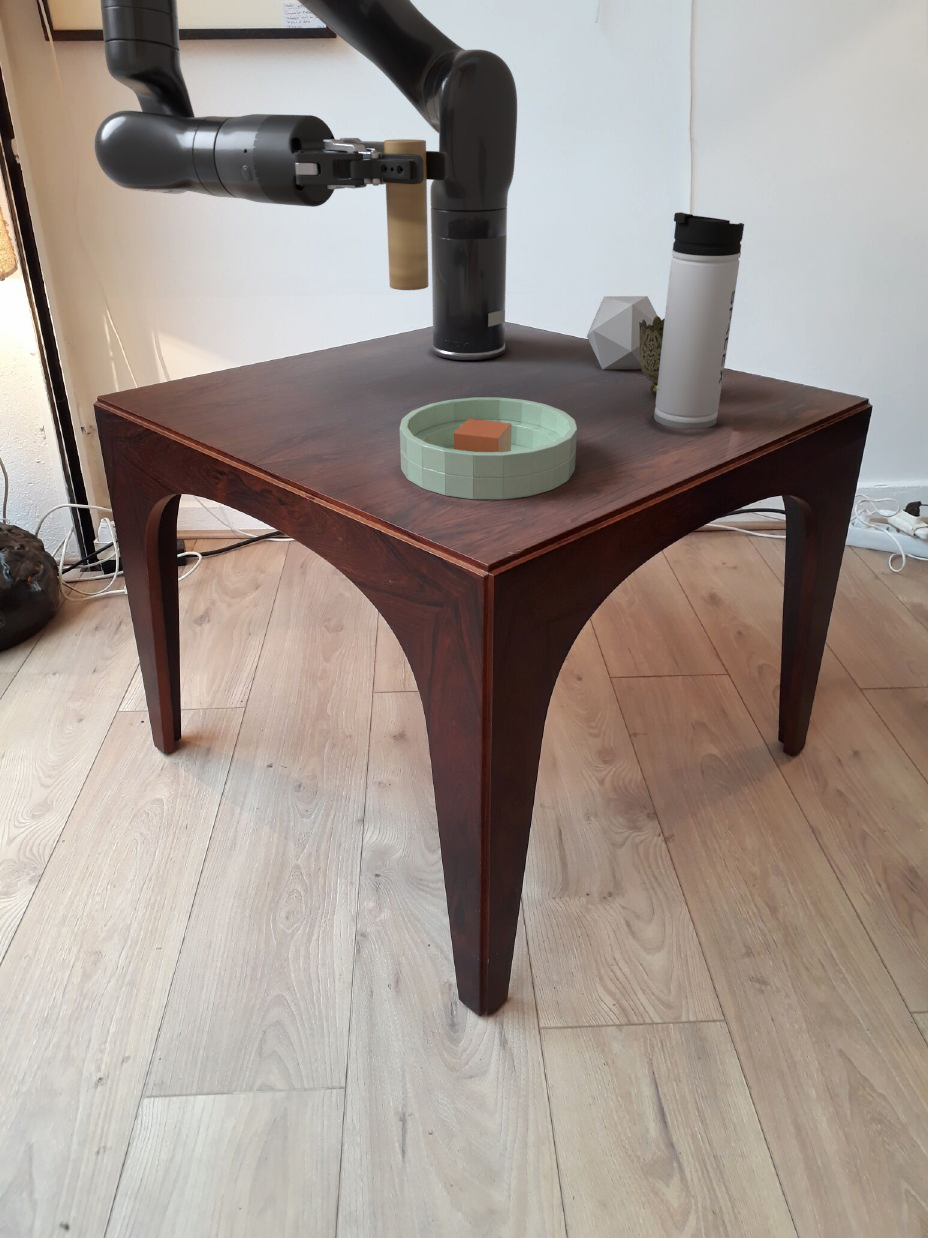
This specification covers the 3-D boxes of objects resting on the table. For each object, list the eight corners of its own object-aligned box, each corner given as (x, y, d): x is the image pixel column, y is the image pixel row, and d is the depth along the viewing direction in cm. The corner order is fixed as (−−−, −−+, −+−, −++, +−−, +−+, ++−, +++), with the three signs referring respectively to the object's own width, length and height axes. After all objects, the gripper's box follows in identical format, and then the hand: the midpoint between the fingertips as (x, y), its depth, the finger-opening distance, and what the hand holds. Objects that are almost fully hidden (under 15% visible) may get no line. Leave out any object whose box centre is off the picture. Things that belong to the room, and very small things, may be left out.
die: (640, 386, 107) (687, 310, 106) (576, 344, 106) (623, 268, 105) (626, 391, 116) (670, 321, 114) (567, 353, 115) (610, 282, 113)
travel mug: (639, 418, 95) (660, 209, 84) (693, 411, 97) (720, 206, 86) (671, 437, 90) (697, 217, 79) (728, 429, 92) (760, 214, 81)
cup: (667, 410, 97) (676, 334, 93) (618, 394, 102) (625, 321, 98) (714, 398, 101) (725, 324, 97) (664, 382, 106) (673, 312, 102)
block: (468, 461, 83) (468, 418, 80) (510, 466, 81) (511, 423, 79) (453, 476, 79) (453, 432, 77) (497, 482, 78) (498, 437, 76)
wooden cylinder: (398, 281, 86) (394, 138, 80) (434, 284, 85) (432, 139, 79) (383, 288, 83) (377, 140, 77) (419, 291, 82) (416, 141, 76)
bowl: (437, 435, 90) (436, 390, 88) (589, 453, 86) (593, 406, 84) (374, 492, 78) (371, 442, 75) (549, 516, 73) (552, 464, 71)
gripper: (219, 116, 78) (386, 120, 71) (319, 111, 88) (474, 115, 81) (230, 211, 82) (390, 224, 74) (325, 196, 92) (474, 206, 85)
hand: (433, 167), depth 78 cm, fingers closed on wooden cylinder, 3 cm apart
